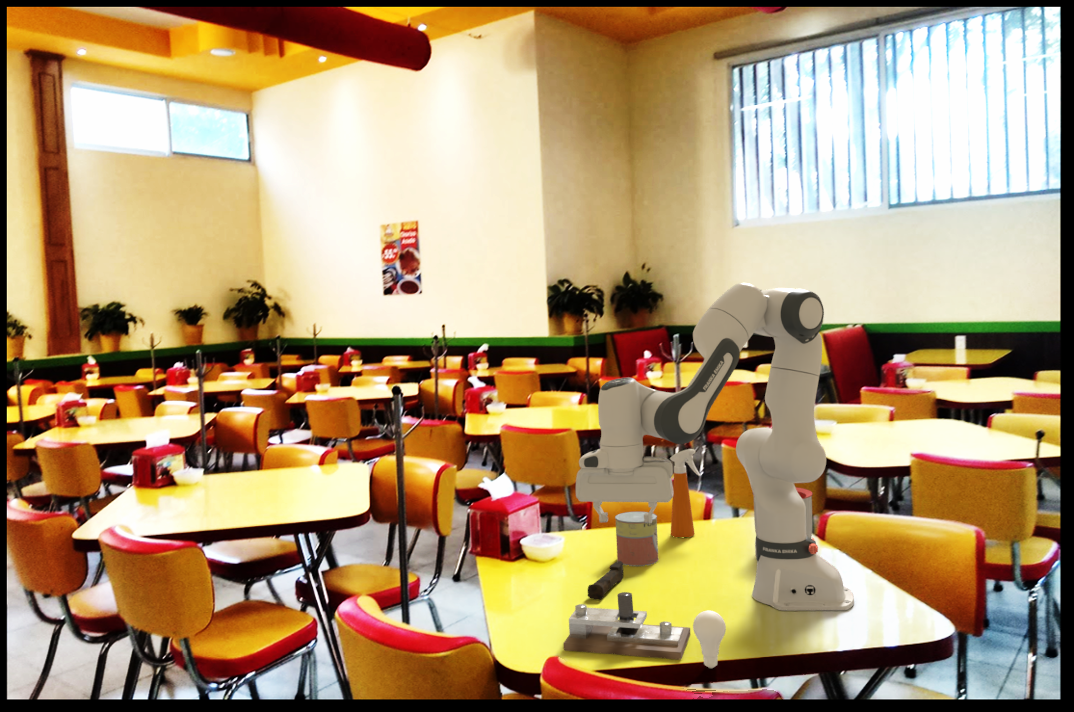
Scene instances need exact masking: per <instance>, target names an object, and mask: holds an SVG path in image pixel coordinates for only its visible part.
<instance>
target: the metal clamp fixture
mask: <svg viewBox="0 0 1074 712" xmlns="http://www.w3.org/2000/svg"><path fill="white" fill-rule="evenodd" d="M633 614H634V621H631V620H619V609H614V608H599V607H598V608H596V607H588V606H587V605H586V604H583V603H579V604H576V605H575V609H574V611H573V612H572V614H571V615H570V616H569V618H568V627H569V628H568V630H569V631H568V632H569V634H570V638H581V639H586V638H587V637H588V635H589V634H590V632H591V631H592V629H593V627H594V625H597V626H611V627H612V628H611V630H610V632H609V633H608V635H607V641H620V642H633V643H646V644H659V645H672V646H678V645H679V643H680V640H681V637H682V635H683V628H677V627H678V626H674V627H672V626H673V625H672V622H671V621H661V622H659V625H660V626H648V625H649V624H646V625H643V624H645V620H646V619H647V616H648V614H647V611H645V610H644V611H643V610H633ZM620 627H625V628H635V632H637V633H636V635H627V634H618V633H619V631H620Z"/></svg>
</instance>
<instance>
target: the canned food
mask: <svg viewBox="0 0 1074 712" xmlns="http://www.w3.org/2000/svg"><path fill="white" fill-rule="evenodd" d="M645 513H649V512H648V511H625V512H622V513H619V514H616V515H615V517H614V519H615V532H616V533H615V536H616V537H615V538H616V558H617V559H616V562H617V561H621V562H622V563H623V566H627V565H629V566H628V567H646V566H645V565H647V566H652V565H654V563H655V564H656V562H657V561H658V560H659V559H660V558H659V546H658V545H659V544H658V523H657V522H658V519H657V518H658V515H657V514H656V513H654V512H653V513H652V523H644V520H645V519H644V514H645ZM658 562H659V561H658ZM658 562H657V563H658ZM651 564H652V565H651Z"/></svg>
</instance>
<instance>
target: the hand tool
mask: <svg viewBox="0 0 1074 712" xmlns="http://www.w3.org/2000/svg"><path fill="white" fill-rule="evenodd" d="M623 577H624V565H623V563H622V562H621V561H617V560H616V561H615V562H614V563H612V564H611V565H609V570H608V572H606V573H604V575H603V576H602V577H600V578H599V579H598V580H596V581H595V582H594V583H593V584H589V585H588V586H587V597H588V598H589V600H598V601H601V600H602V599H603V598H604V597H605V594H606V593H608V591H610V590H611V589H612V588H613V587H614V586H615V585H616V584H620V583H621V582H622V581H623Z"/></svg>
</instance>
